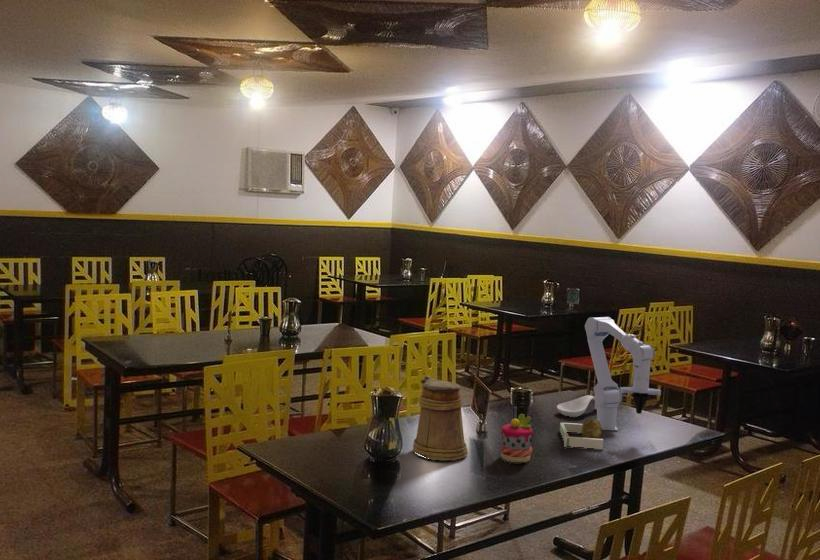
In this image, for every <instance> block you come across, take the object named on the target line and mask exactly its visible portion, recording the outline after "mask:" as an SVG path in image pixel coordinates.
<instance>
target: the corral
mask: <svg viewBox="0 0 820 560" xmlns="http://www.w3.org/2000/svg"><path fill="white" fill-rule="evenodd" d="M583 424H584V423H576V422H575V423H573V422H560V423H559V433H561V434H560V436H561V435H562V436H561V438H563V439H562V442H563V441H564V440H565V430H567V432H577V433H576V434H580V433H582V426H583ZM566 446H571V447H570V448H573V447H584V448H583V449H587V448H594V449H593V450H602V449H603V450H604V439H603V438H600V439H595V438H582V437H580V436H579V437H577V436H569V433H567V444H566Z"/></svg>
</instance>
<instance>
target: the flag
mask: <svg viewBox="0 0 820 560" xmlns="http://www.w3.org/2000/svg"><path fill="white" fill-rule="evenodd" d="M566 444H567V430H565V440H564V442H563V448H564V447H566ZM566 448H567V447H566Z"/></svg>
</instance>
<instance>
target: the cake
mask: <svg viewBox="0 0 820 560" xmlns="http://www.w3.org/2000/svg"><path fill="white" fill-rule="evenodd" d="M531 420H532V419H531V416H526V417H525V414H524V413H520V414H519V415H518V417H514V418H513V419H511V421H510V423H507V424H504V425H503V426H502V427H501V446H500V447H499V449H500V450H501V451H500V452H501V453H500V458H501V457H502V458H503V459H505V460H507V461H511V462H527V461H529V460H530V461H531V454H532V453H533V448H532V447H533V446H532V443H533V442H532V441H533V439H532V437H533V429H532V425H531V424H529V423H530V422H531Z"/></svg>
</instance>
